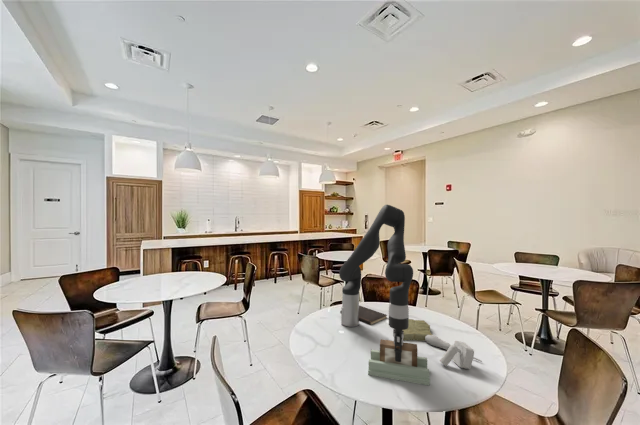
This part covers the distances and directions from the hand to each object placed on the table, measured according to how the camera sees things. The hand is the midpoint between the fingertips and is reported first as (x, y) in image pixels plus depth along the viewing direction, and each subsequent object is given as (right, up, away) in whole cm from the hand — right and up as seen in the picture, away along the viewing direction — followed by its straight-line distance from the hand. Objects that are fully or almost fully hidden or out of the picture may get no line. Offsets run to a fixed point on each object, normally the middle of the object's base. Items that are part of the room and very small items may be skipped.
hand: (398, 355), depth 108 cm
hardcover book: (-5, -6, +57) cm, 58 cm away
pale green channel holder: (0, -6, 0) cm, 6 cm away
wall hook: (+24, -6, +4) cm, 25 cm away
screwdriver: (+29, -7, +15) cm, 33 cm away
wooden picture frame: (0, -5, 0) cm, 5 cm away
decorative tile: (+18, -7, +35) cm, 40 cm away
